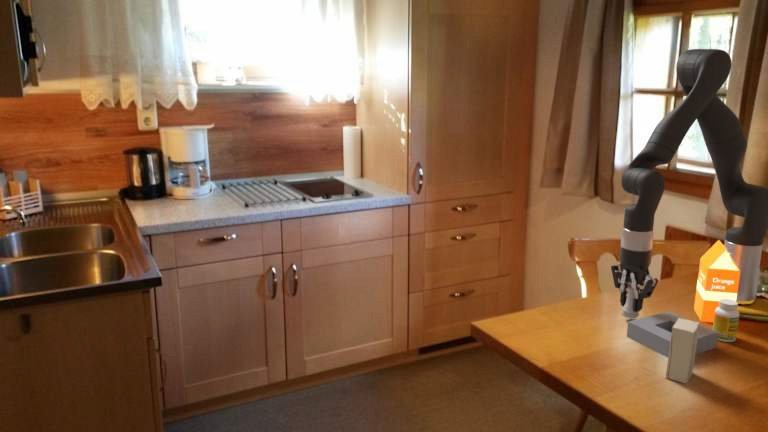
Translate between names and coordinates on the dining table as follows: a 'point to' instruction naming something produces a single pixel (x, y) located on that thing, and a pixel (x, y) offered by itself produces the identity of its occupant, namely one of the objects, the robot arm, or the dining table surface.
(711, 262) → the orange juice
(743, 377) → the dining table surface
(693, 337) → the skincare box
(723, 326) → the supplement bottle
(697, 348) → the socket block
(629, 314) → the rook chess piece
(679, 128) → the robot arm
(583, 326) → the dining table surface
